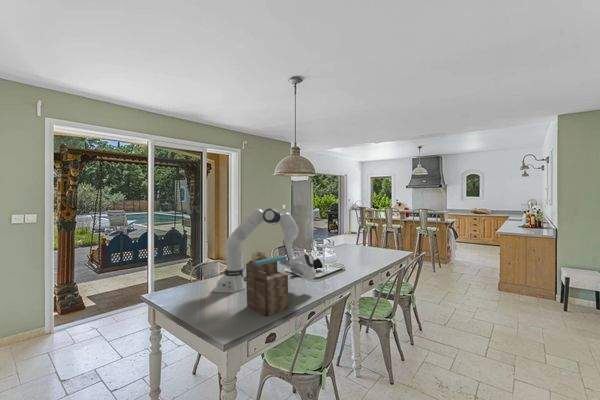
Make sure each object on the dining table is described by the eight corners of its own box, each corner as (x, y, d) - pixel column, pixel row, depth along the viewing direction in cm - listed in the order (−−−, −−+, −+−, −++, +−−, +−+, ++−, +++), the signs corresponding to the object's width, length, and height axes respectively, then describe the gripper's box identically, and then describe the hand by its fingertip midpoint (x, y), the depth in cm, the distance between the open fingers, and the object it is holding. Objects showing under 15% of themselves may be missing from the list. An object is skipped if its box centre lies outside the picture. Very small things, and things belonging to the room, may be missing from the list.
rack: (268, 299, 184) (267, 249, 183) (288, 308, 169) (287, 254, 168) (247, 306, 173) (245, 253, 172) (266, 316, 158) (265, 258, 158)
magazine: (291, 266, 232) (318, 251, 248) (288, 265, 235) (316, 250, 251) (296, 285, 236) (323, 268, 251) (294, 284, 238) (321, 268, 254)
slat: (282, 258, 185) (282, 255, 185) (286, 259, 182) (286, 256, 182) (253, 264, 170) (253, 261, 170) (257, 265, 167) (257, 262, 167)
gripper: (289, 260, 200) (275, 253, 191) (310, 265, 184) (296, 258, 176) (286, 269, 198) (272, 262, 189) (306, 275, 182) (292, 268, 174)
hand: (283, 260), depth 183 cm, fingers open, 8 cm apart
